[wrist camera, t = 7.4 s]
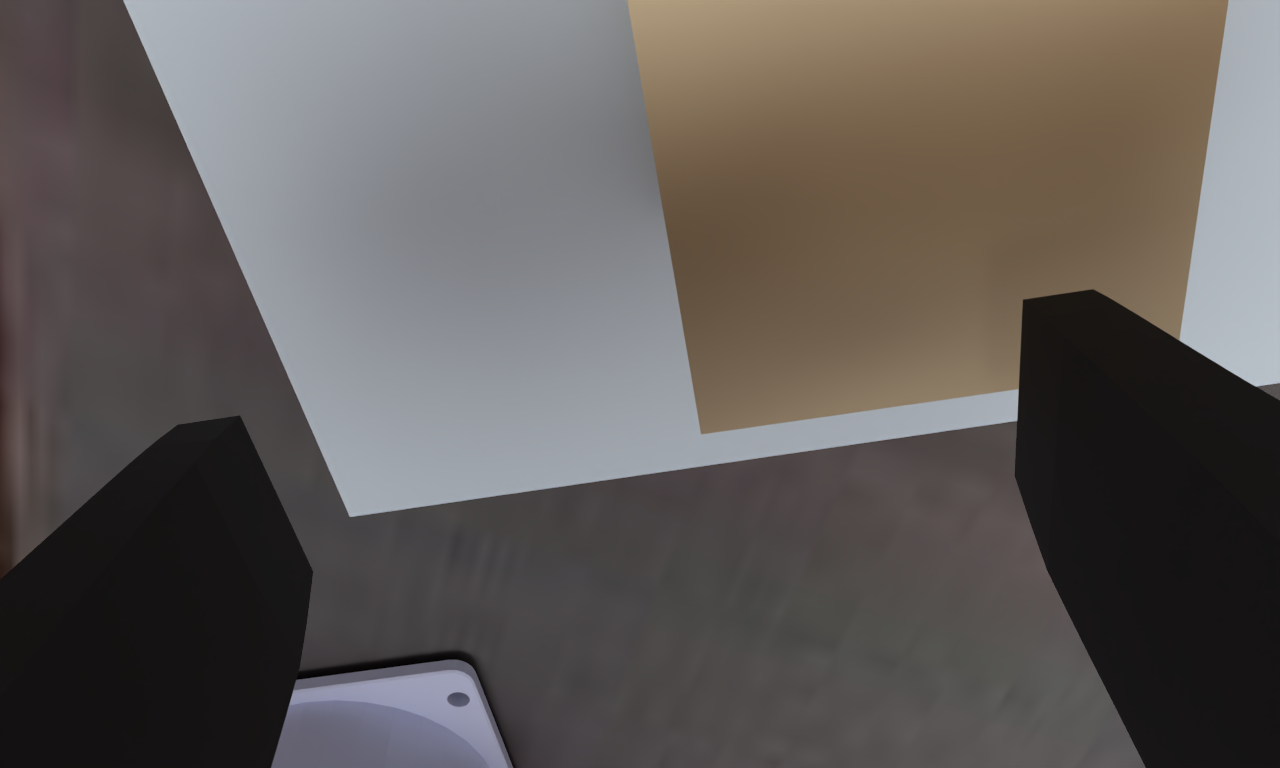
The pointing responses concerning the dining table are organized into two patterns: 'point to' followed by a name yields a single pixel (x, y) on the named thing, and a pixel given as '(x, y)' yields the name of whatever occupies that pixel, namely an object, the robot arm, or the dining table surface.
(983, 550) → the dining table surface
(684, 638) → the dining table surface
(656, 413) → the grey-blue platform
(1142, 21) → the birch cube
